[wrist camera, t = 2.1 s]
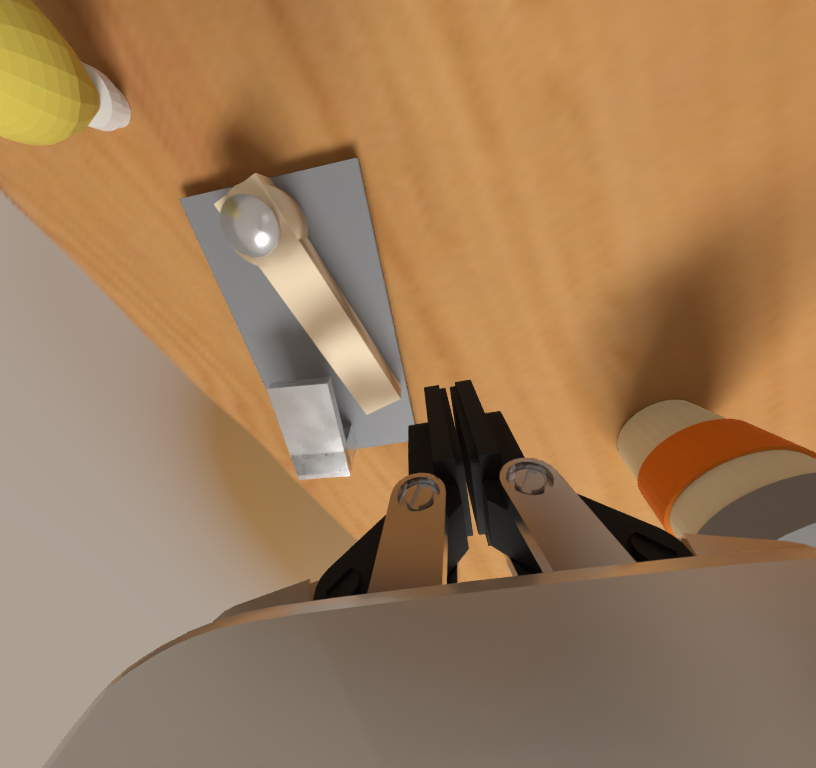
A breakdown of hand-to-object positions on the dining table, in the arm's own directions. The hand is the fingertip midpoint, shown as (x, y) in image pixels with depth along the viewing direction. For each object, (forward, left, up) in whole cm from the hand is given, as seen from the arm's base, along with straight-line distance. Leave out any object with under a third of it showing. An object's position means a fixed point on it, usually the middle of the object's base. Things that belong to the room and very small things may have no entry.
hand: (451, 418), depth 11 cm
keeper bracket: (+8, -12, -17) cm, 22 cm away
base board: (+1, -10, -18) cm, 20 cm away
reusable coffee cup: (+19, +23, -18) cm, 35 cm away
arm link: (-2, -8, -17) cm, 19 cm away
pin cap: (-8, -10, -14) cm, 19 cm away
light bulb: (-17, -19, -18) cm, 31 cm away
